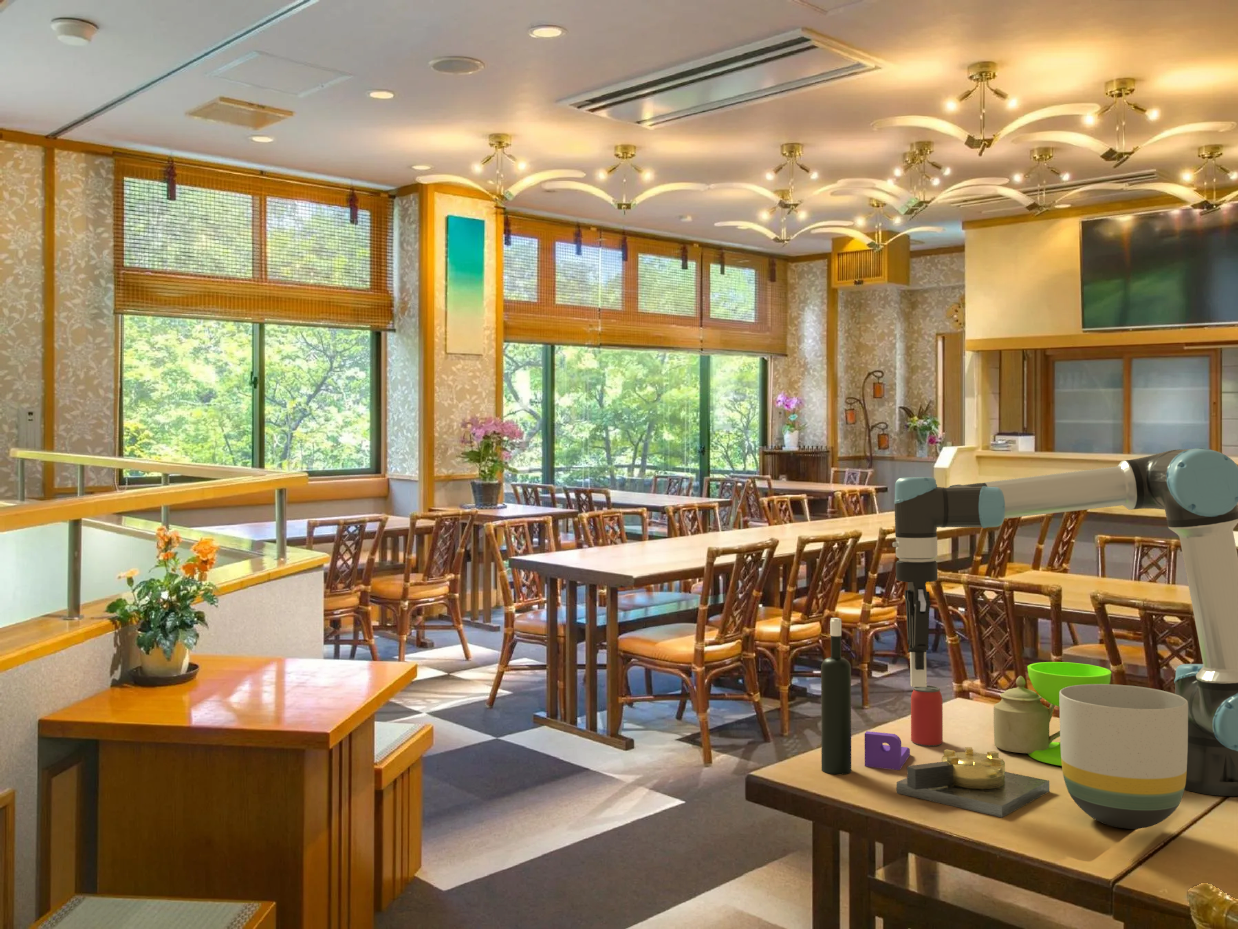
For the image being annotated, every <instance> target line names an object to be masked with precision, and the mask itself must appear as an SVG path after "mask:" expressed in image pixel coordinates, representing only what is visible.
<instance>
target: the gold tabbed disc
mask: <svg viewBox="0 0 1238 929" xmlns="http://www.w3.org/2000/svg"><path fill="white" fill-rule="evenodd" d="M999 754H1000V753H999V752H997V751H994V750H993V751H987V752H986V753H982V752H981V753H980V752H974V749H973V747H971V746H970V747H969V746H966V747H965V746H964V751H959V752H958V751H957V752H956V750H952V749H947V748H946V749H944V750H943V755H942V756H941V761H938V762H929V763H923V764H922V763H921V764H912V765H907V766H906V768H907V769H906V772H907V773H906V774H907V775H906V776H907V777H906V778H907V786H909V787H911V788H913V789H915V790H917V789H925V788H932V787H940V786H947V785H956V786H960V787H966V788H975V789H990V788H997V787H1001V786H1003V785H1004V784H1005V772H1006V768H1005V767H1006V762H1005V761H1004V759H1003V758H1000V756H999Z"/></svg>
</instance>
